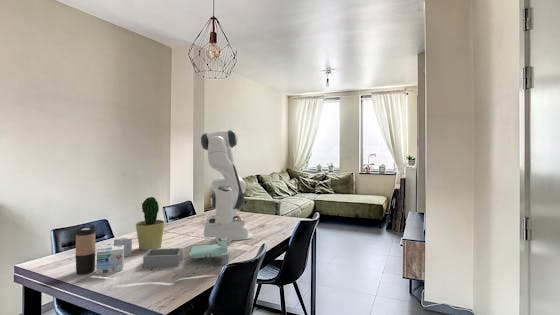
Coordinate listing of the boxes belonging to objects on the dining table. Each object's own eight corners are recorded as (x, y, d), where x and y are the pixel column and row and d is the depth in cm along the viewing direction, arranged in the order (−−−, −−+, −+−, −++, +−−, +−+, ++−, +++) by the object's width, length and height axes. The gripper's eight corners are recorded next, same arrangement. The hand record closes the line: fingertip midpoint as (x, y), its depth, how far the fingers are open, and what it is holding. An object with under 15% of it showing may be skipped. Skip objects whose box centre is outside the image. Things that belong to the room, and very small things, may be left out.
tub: (182, 259, 155) (182, 248, 155) (178, 267, 144) (178, 255, 144) (149, 261, 152) (149, 249, 152) (143, 269, 142) (143, 256, 141)
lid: (227, 246, 162) (227, 236, 162) (226, 255, 148) (226, 243, 148) (192, 249, 159) (192, 238, 159) (188, 258, 145) (188, 246, 145)
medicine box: (132, 255, 161) (132, 238, 161) (125, 257, 157) (125, 241, 157) (120, 253, 164) (120, 237, 164) (113, 256, 159) (113, 239, 159)
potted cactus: (158, 242, 184) (158, 193, 183) (169, 248, 173) (169, 196, 172) (131, 247, 173) (131, 195, 173) (141, 254, 162) (141, 198, 162)
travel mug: (80, 276, 133) (80, 231, 133) (72, 272, 137) (72, 228, 137) (98, 270, 139) (98, 227, 139) (90, 267, 143) (90, 225, 143)
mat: (228, 255, 163) (228, 254, 163) (228, 265, 148) (228, 264, 148) (192, 256, 160) (192, 255, 160) (188, 267, 145) (188, 266, 145)
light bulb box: (95, 276, 134) (96, 251, 133) (98, 270, 140) (98, 247, 140) (123, 272, 138) (123, 248, 138) (124, 267, 144) (124, 244, 144)
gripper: (244, 216, 159) (244, 243, 159) (204, 217, 156) (204, 244, 156) (244, 219, 153) (244, 246, 153) (203, 220, 150) (203, 247, 150)
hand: (223, 245), depth 155 cm, fingers closed on lid, 3 cm apart
